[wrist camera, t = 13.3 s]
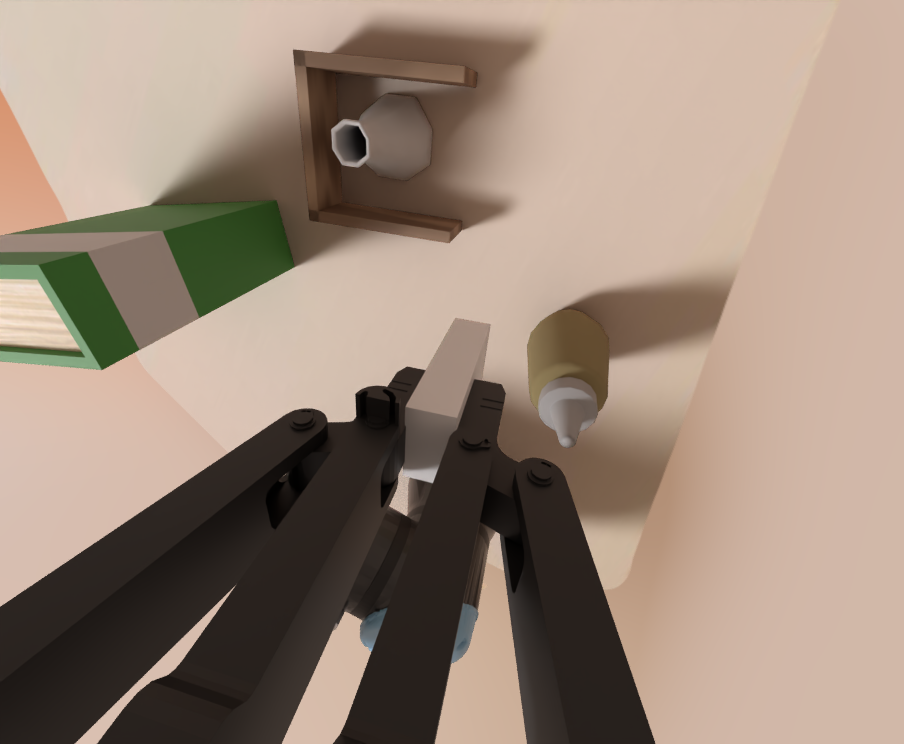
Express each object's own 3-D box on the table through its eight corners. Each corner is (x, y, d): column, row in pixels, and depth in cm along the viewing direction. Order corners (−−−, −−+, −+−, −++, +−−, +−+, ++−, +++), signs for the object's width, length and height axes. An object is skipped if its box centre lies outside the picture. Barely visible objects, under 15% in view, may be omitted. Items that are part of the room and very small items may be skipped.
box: (460, 231, 41) (448, 243, 37) (334, 210, 43) (309, 220, 39) (477, 72, 34) (464, 66, 30) (324, 57, 36) (292, 49, 32)
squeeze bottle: (612, 300, 41) (638, 401, 26) (600, 367, 45) (617, 488, 30) (531, 296, 43) (513, 390, 28) (528, 362, 47) (510, 473, 32)
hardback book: (175, 266, 52) (-65, 355, 32) (149, 205, 48) (-142, 264, 28) (294, 267, 48) (102, 369, 28) (276, 200, 44) (38, 264, 24)
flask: (423, 82, 35) (379, 70, 27) (442, 172, 38) (407, 186, 30) (351, 104, 37) (290, 99, 29) (375, 187, 41) (326, 204, 32)
